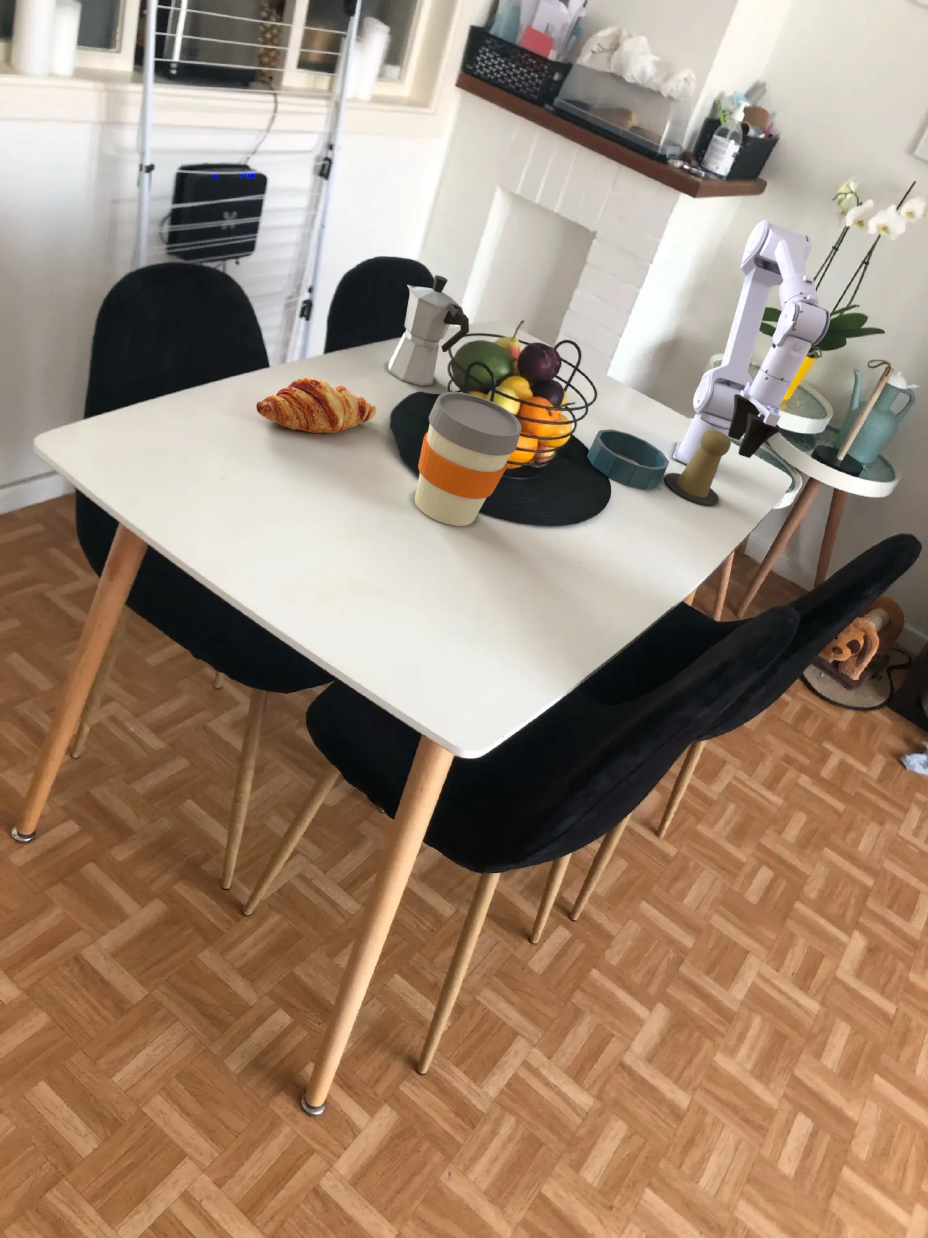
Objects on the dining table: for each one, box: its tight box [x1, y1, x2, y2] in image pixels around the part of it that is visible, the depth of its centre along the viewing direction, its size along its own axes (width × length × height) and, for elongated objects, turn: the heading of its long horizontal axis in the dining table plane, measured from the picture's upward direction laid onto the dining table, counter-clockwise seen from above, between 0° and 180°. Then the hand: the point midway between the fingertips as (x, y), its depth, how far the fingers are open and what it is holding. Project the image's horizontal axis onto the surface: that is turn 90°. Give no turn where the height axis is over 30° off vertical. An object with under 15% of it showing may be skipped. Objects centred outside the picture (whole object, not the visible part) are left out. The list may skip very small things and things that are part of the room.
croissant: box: [256, 377, 377, 434], centre depth 150 cm, size 21×10×8 cm, turn 130°
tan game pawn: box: [676, 430, 732, 497], centre depth 176 cm, size 6×6×11 cm
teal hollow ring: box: [586, 428, 670, 490], centre depth 176 cm, size 13×13×4 cm
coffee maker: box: [387, 274, 470, 387], centre depth 175 cm, size 15×9×18 cm, turn 50°
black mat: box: [663, 472, 720, 507], centre depth 179 cm, size 10×10×1 cm
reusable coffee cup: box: [414, 391, 523, 527], centre depth 138 cm, size 12×12×15 cm
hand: (738, 446), depth 174 cm, fingers open, 7 cm apart
